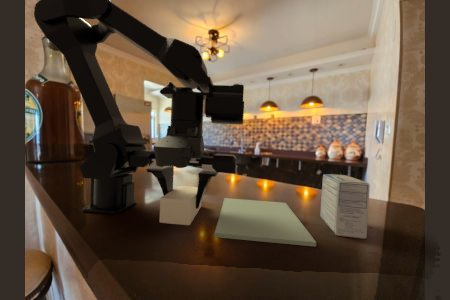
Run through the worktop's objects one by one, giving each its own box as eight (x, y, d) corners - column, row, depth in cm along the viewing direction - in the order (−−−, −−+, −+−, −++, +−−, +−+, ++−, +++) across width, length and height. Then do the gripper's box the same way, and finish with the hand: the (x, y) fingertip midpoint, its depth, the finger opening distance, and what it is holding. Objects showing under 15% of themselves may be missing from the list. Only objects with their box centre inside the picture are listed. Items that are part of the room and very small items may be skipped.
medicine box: (367, 240, 28) (371, 183, 27) (334, 236, 29) (338, 180, 28) (344, 219, 35) (347, 175, 35) (319, 216, 36) (322, 173, 36)
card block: (159, 222, 30) (160, 198, 30) (177, 204, 39) (178, 185, 39) (189, 225, 30) (190, 200, 29) (201, 206, 39) (202, 187, 38)
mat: (214, 237, 26) (214, 232, 26) (224, 200, 43) (224, 198, 43) (316, 246, 25) (316, 242, 25) (285, 205, 42) (285, 202, 42)
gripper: (107, 112, 26) (103, 220, 27) (237, 118, 25) (231, 231, 25) (146, 122, 37) (143, 198, 38) (238, 126, 36) (233, 205, 37)
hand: (183, 206), depth 34 cm, fingers closed on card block, 5 cm apart
